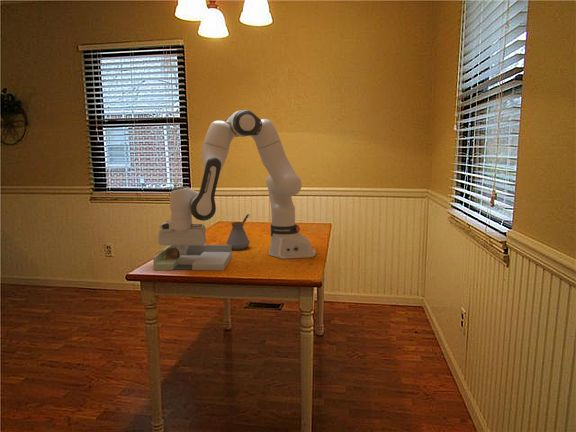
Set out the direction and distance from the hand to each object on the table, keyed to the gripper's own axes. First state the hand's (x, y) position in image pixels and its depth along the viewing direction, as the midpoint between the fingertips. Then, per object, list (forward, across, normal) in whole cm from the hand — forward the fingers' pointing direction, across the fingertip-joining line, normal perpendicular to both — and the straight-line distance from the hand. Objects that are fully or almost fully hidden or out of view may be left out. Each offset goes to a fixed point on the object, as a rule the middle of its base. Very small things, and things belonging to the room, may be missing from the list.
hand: (183, 254), depth 175 cm
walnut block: (+1, +4, 0) cm, 5 cm away
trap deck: (+4, -5, 0) cm, 6 cm away
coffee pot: (+4, -22, -31) cm, 38 cm away
